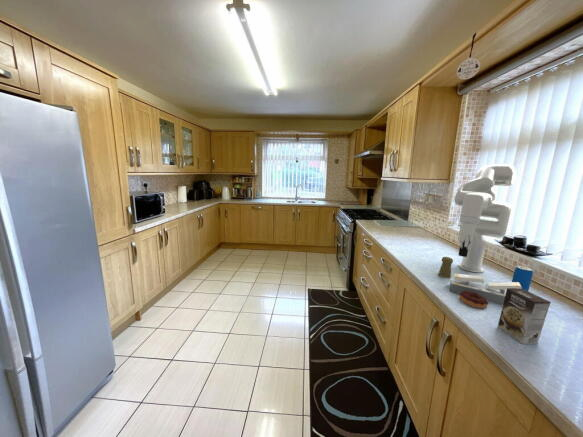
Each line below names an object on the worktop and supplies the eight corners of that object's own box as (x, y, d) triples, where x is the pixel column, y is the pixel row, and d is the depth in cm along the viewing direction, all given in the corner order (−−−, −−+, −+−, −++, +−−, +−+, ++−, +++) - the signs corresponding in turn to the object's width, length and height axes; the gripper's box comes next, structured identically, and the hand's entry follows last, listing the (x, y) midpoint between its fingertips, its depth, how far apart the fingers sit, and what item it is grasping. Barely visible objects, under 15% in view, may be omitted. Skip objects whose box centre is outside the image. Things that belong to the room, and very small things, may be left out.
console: (449, 284, 118) (451, 274, 117) (520, 302, 104) (523, 290, 103) (450, 291, 111) (452, 280, 110) (525, 310, 97) (529, 298, 96)
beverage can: (524, 288, 117) (529, 266, 115) (530, 294, 111) (536, 271, 109) (508, 285, 120) (513, 264, 117) (513, 291, 114) (519, 268, 111)
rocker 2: (487, 286, 108) (487, 282, 108) (519, 286, 102) (518, 282, 102) (489, 289, 105) (488, 285, 105) (522, 289, 99) (521, 285, 99)
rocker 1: (454, 277, 115) (454, 273, 115) (482, 279, 109) (482, 276, 109) (454, 280, 112) (454, 276, 112) (483, 283, 106) (483, 279, 106)
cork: (452, 278, 125) (456, 260, 123) (440, 277, 127) (444, 258, 124) (447, 274, 131) (451, 256, 129) (436, 272, 132) (439, 255, 130)
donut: (491, 312, 95) (493, 303, 95) (463, 306, 99) (465, 298, 98) (481, 299, 105) (482, 292, 104) (456, 295, 108) (457, 287, 107)
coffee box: (496, 326, 86) (505, 287, 82) (511, 326, 86) (521, 287, 83) (522, 344, 77) (534, 301, 73) (539, 344, 77) (551, 301, 74)
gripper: (458, 216, 115) (452, 250, 119) (461, 221, 103) (453, 259, 107) (477, 217, 111) (470, 253, 115) (482, 223, 99) (474, 262, 103)
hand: (462, 255), depth 111 cm, fingers closed
